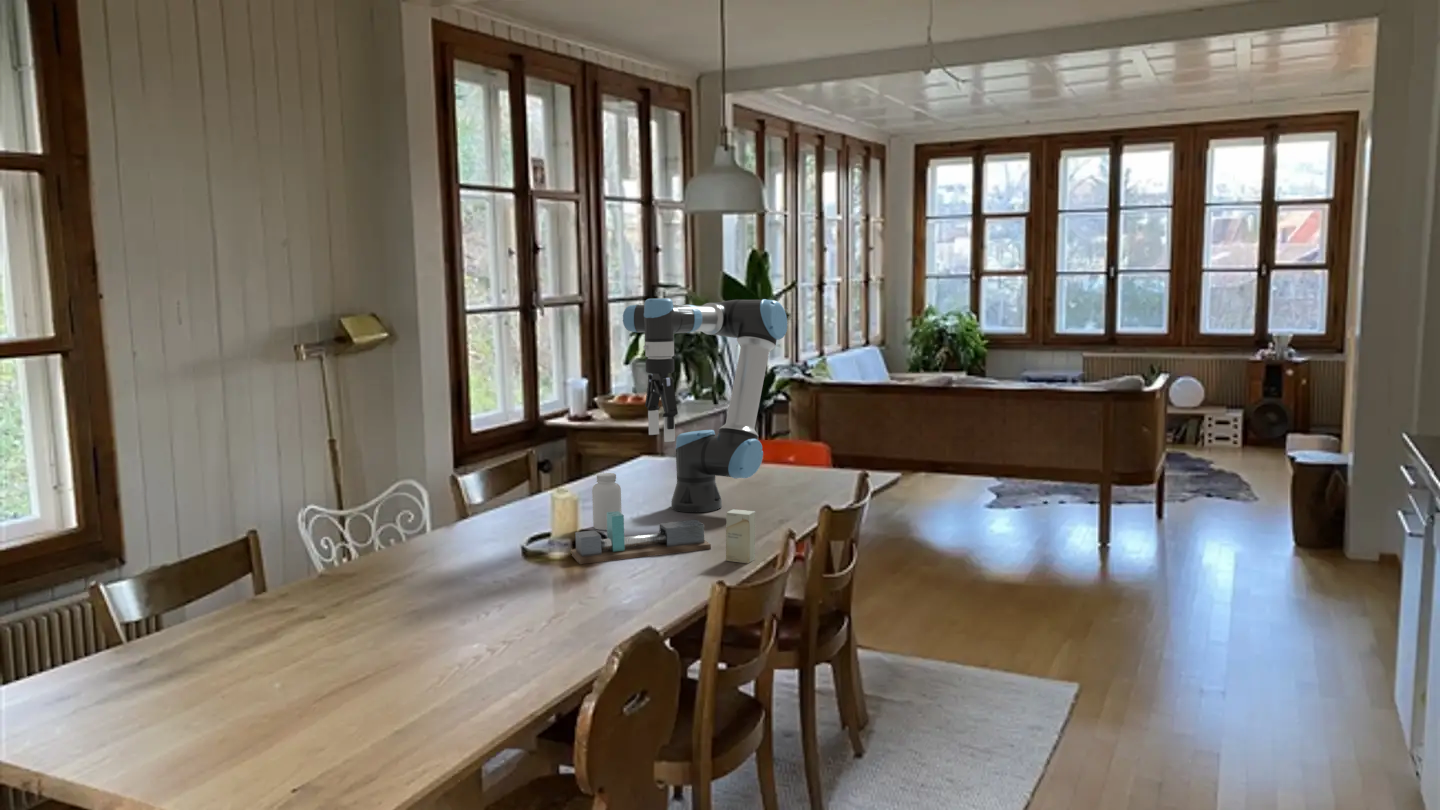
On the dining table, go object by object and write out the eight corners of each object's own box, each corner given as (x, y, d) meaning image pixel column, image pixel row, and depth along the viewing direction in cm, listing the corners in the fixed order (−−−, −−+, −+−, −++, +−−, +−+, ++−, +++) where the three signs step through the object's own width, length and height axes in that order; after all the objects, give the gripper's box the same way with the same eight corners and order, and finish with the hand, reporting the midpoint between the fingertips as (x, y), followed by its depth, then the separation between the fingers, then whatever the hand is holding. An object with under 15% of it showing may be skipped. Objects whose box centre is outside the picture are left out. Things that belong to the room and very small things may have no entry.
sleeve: (696, 537, 271) (696, 519, 271) (704, 542, 266) (704, 524, 265) (659, 541, 268) (659, 523, 267) (667, 547, 262) (666, 528, 262)
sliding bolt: (668, 540, 268) (667, 506, 267) (674, 545, 264) (673, 510, 262) (580, 550, 260) (579, 515, 259) (585, 555, 255) (584, 519, 254)
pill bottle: (624, 524, 293) (622, 471, 291) (618, 530, 285) (617, 477, 284) (596, 523, 294) (595, 471, 292) (590, 530, 286) (588, 477, 284)
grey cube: (595, 548, 262) (594, 530, 261) (601, 554, 256) (600, 535, 256) (576, 551, 260) (575, 532, 260) (581, 556, 255) (581, 537, 254)
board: (697, 540, 274) (697, 535, 274) (710, 548, 265) (710, 544, 264) (570, 554, 262) (570, 549, 262) (579, 564, 253) (579, 559, 252)
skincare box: (725, 561, 253) (724, 512, 251) (732, 556, 257) (731, 508, 255) (749, 563, 250) (748, 514, 249) (756, 559, 254) (755, 510, 253)
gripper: (632, 355, 282) (634, 432, 285) (660, 361, 259) (662, 445, 262) (658, 354, 285) (660, 430, 287) (689, 360, 262) (690, 443, 264)
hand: (661, 438), depth 275 cm, fingers open, 13 cm apart
